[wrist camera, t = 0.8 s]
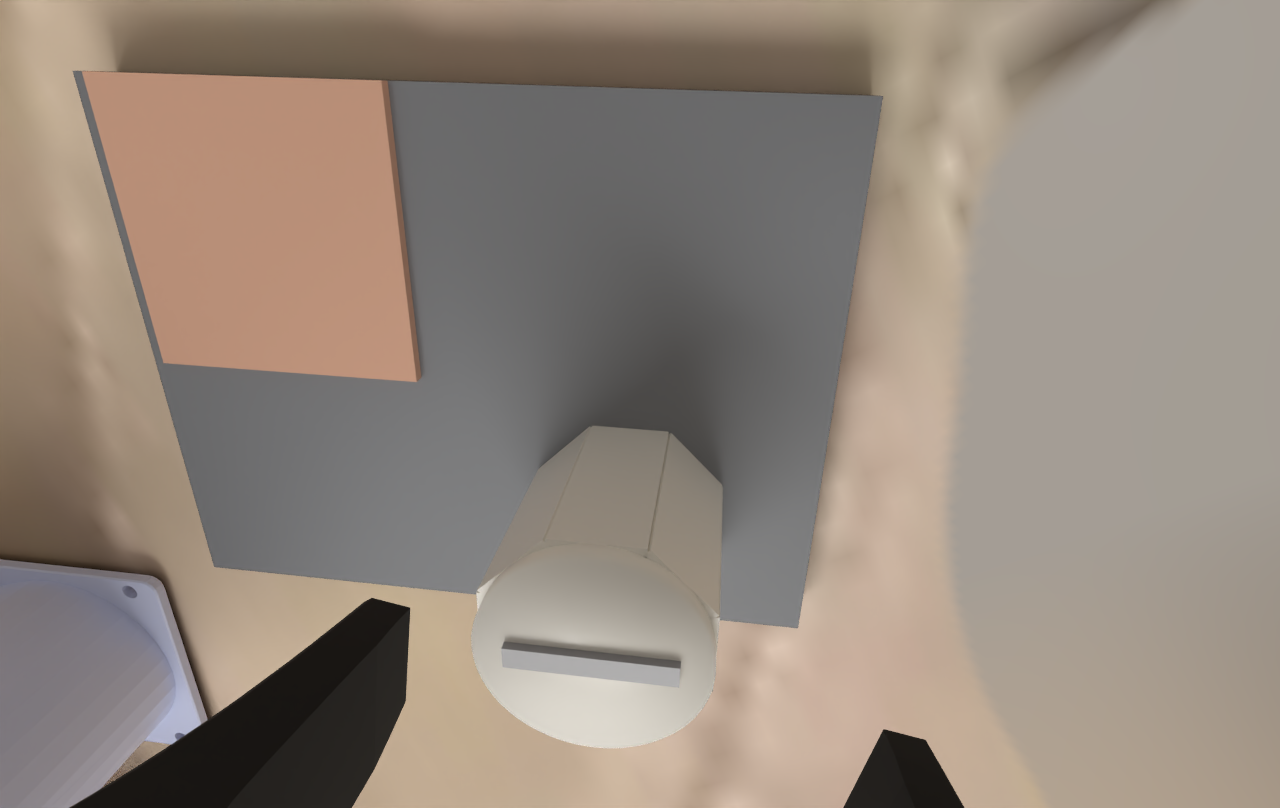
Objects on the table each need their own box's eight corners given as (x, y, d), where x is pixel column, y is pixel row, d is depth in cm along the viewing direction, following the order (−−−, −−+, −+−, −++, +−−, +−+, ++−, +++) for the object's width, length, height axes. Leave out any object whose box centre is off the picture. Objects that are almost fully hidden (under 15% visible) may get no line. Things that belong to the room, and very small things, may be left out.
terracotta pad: (171, 358, 19) (163, 362, 18) (93, 71, 16) (81, 71, 16) (421, 377, 18) (416, 382, 18) (387, 80, 15) (381, 80, 15)
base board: (238, 544, 23) (214, 566, 22) (114, 71, 17) (72, 70, 16) (794, 600, 21) (798, 627, 20) (872, 95, 15) (883, 95, 14)
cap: (541, 574, 20) (477, 741, 15) (535, 421, 18) (458, 553, 13) (713, 591, 20) (706, 769, 15) (727, 436, 18) (725, 579, 13)
